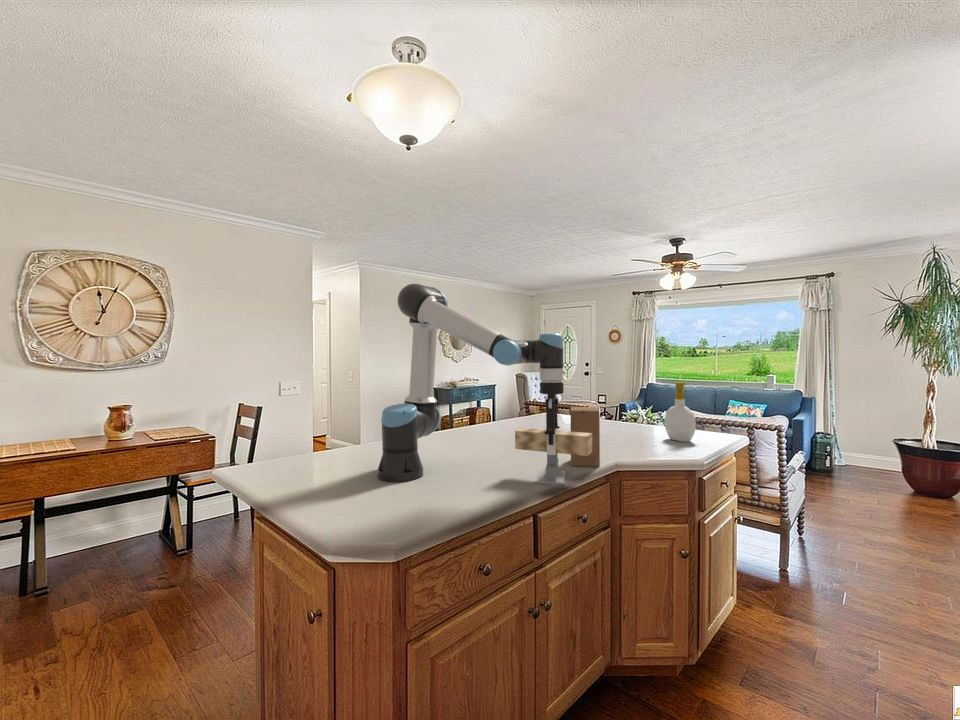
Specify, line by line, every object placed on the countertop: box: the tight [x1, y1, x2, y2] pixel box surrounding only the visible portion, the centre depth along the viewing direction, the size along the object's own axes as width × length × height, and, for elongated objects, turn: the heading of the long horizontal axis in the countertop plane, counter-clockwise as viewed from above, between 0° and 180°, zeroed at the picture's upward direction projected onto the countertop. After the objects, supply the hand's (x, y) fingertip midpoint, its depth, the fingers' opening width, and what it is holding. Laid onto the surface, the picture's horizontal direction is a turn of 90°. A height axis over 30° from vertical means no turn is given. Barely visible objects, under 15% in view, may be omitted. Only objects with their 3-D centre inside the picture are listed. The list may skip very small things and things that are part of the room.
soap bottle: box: [664, 381, 697, 443], centre depth 204 cm, size 14×9×26 cm, turn 32°
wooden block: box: [570, 406, 601, 468], centre depth 167 cm, size 10×10×20 cm
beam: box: [514, 427, 592, 456], centre depth 148 cm, size 24×6×6 cm, turn 63°
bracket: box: [537, 453, 567, 486], centre depth 149 cm, size 8×14×9 cm, turn 166°
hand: (552, 451), depth 149 cm, fingers open, 8 cm apart
